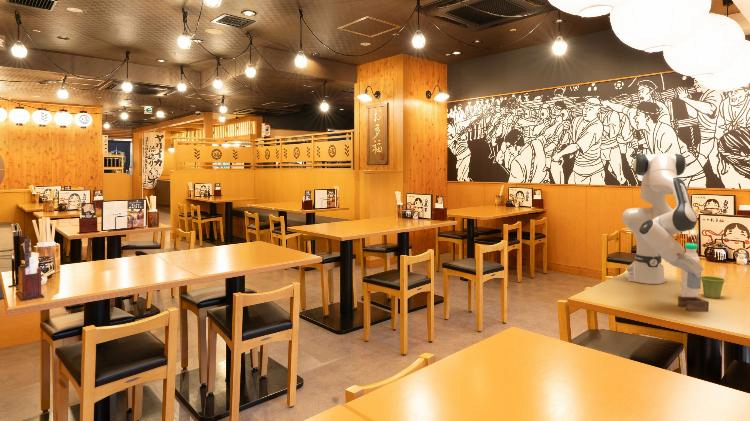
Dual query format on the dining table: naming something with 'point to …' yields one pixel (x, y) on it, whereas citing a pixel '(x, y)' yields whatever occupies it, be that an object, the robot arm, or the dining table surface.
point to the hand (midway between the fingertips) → (695, 275)
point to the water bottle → (684, 289)
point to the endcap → (693, 303)
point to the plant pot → (712, 286)
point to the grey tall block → (693, 281)
